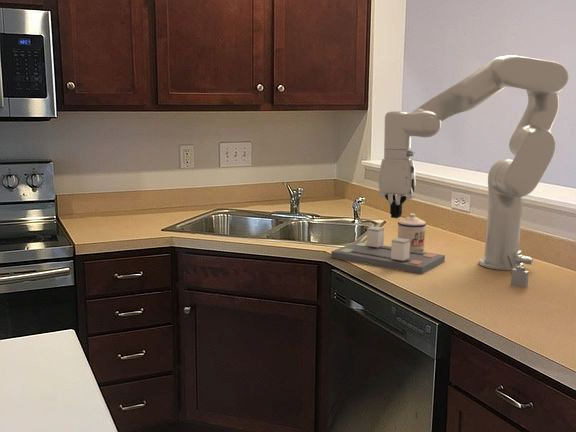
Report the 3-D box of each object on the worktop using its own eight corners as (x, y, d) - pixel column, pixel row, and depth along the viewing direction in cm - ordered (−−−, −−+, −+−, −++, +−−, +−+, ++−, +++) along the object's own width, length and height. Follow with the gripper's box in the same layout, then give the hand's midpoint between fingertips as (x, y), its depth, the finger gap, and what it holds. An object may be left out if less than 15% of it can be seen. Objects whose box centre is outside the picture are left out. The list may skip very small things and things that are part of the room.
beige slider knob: (409, 258, 193) (410, 239, 192) (403, 260, 190) (404, 242, 189) (396, 255, 195) (397, 237, 194) (390, 258, 192) (391, 240, 191)
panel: (444, 261, 199) (445, 254, 199) (422, 274, 186) (422, 266, 185) (357, 247, 216) (357, 240, 216) (331, 257, 202) (331, 250, 202)
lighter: (527, 286, 175) (530, 257, 174) (525, 288, 174) (527, 259, 172) (502, 281, 180) (504, 253, 178) (499, 282, 178) (501, 254, 177)
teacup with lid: (414, 253, 209) (415, 217, 207) (390, 248, 215) (392, 213, 213) (435, 247, 217) (437, 213, 215) (412, 242, 223) (413, 209, 221)
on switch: (383, 245, 209) (384, 228, 208) (377, 247, 206) (378, 230, 204) (372, 243, 211) (372, 226, 210) (366, 245, 208) (366, 228, 207)
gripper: (426, 155, 187) (425, 218, 190) (380, 152, 196) (379, 212, 199) (415, 157, 181) (413, 222, 185) (368, 154, 190) (367, 216, 193)
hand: (395, 217), depth 192 cm, fingers closed
